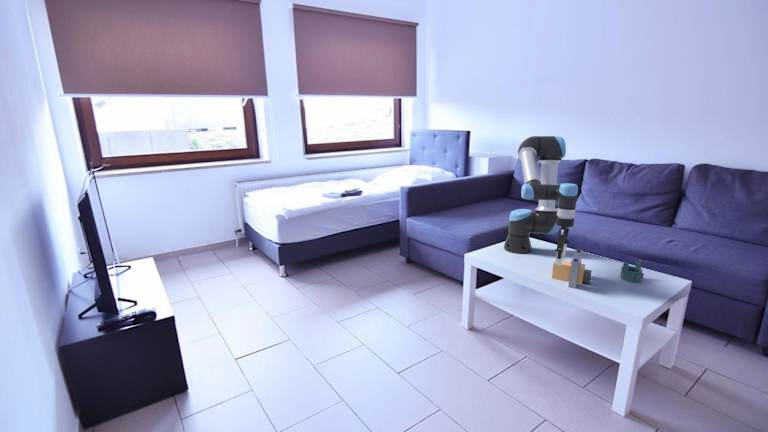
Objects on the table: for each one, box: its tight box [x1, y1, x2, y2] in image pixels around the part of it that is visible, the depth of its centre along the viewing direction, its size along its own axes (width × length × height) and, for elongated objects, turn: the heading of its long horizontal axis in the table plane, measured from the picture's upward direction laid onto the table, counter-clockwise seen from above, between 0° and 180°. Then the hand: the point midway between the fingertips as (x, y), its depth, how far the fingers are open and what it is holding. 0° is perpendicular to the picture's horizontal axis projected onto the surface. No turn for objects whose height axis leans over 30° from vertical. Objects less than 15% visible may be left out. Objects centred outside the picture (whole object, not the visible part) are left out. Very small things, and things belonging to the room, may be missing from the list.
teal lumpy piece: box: [619, 259, 644, 284], centre depth 183 cm, size 9×9×9 cm
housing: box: [568, 248, 584, 289], centre depth 181 cm, size 18×3×13 cm, turn 149°
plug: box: [551, 258, 593, 285], centre depth 182 cm, size 6×16×8 cm, turn 59°
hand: (560, 260), depth 184 cm, fingers open, 13 cm apart
